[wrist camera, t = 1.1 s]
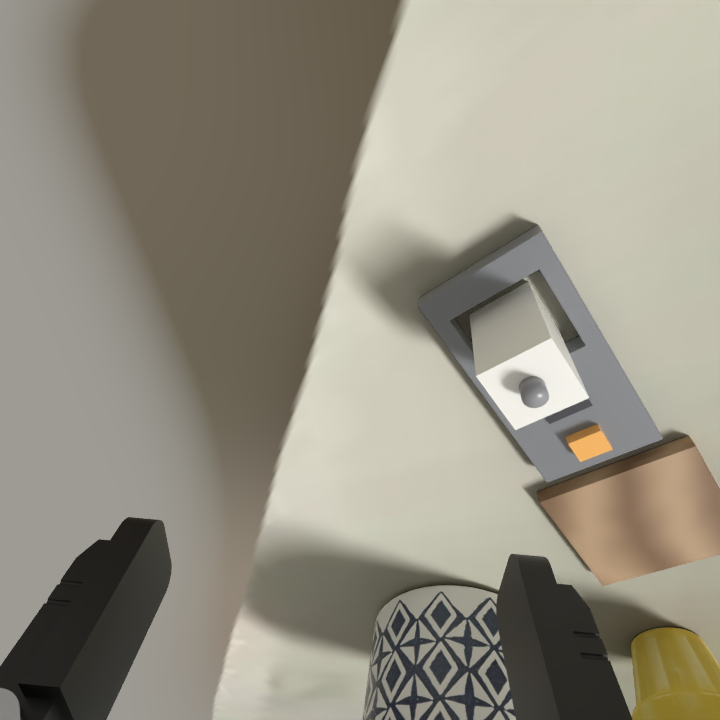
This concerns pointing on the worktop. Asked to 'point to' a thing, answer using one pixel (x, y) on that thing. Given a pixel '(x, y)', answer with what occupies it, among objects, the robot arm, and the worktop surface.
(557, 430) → the grey panel with cutout
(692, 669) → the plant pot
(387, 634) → the planter
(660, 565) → the walnut board
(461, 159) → the worktop surface
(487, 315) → the block
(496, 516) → the worktop surface
